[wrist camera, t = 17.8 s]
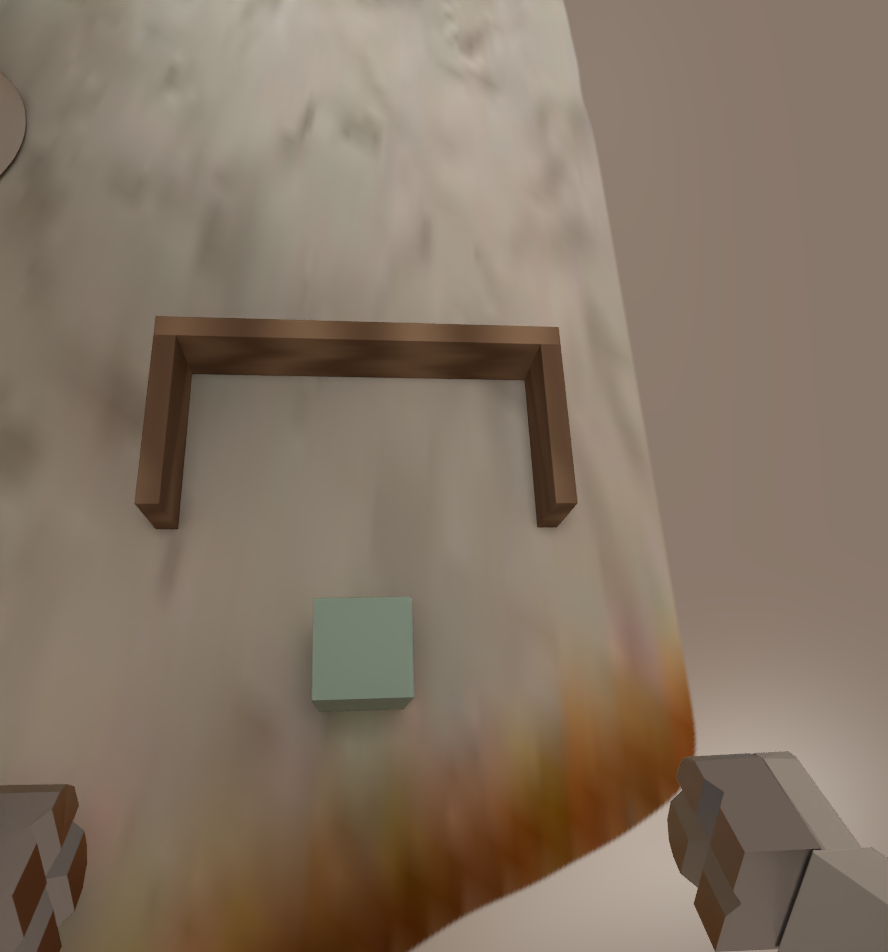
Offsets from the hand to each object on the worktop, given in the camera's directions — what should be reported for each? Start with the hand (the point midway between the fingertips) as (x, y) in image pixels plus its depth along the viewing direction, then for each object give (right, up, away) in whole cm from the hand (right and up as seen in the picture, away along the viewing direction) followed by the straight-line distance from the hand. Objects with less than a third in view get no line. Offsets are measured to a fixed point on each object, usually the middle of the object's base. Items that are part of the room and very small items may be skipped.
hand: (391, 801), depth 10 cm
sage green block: (-4, -6, +31) cm, 32 cm away
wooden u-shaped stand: (-4, +7, +36) cm, 37 cm away
